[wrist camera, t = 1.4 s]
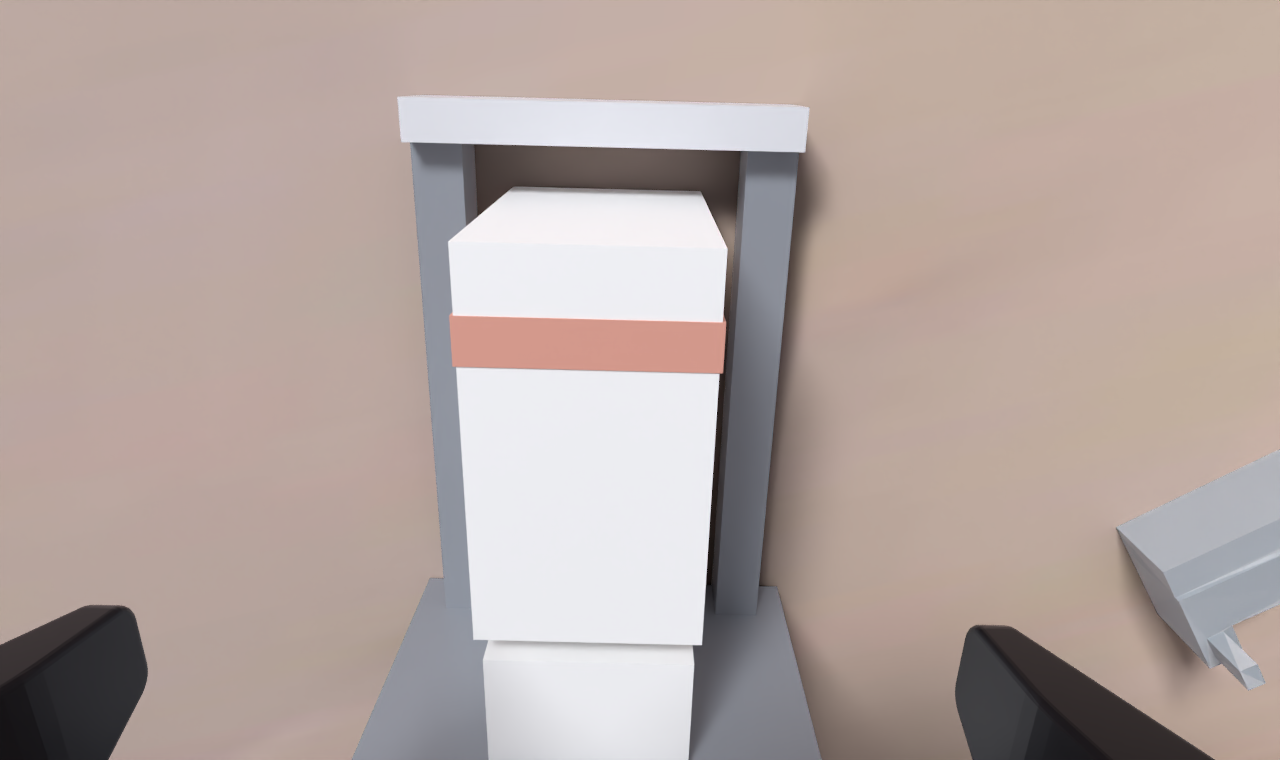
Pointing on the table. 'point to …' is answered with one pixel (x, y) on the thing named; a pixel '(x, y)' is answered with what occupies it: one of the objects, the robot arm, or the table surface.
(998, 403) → the table surface
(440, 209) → the grey frame stand
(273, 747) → the table surface
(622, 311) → the white banded block
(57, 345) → the table surface
